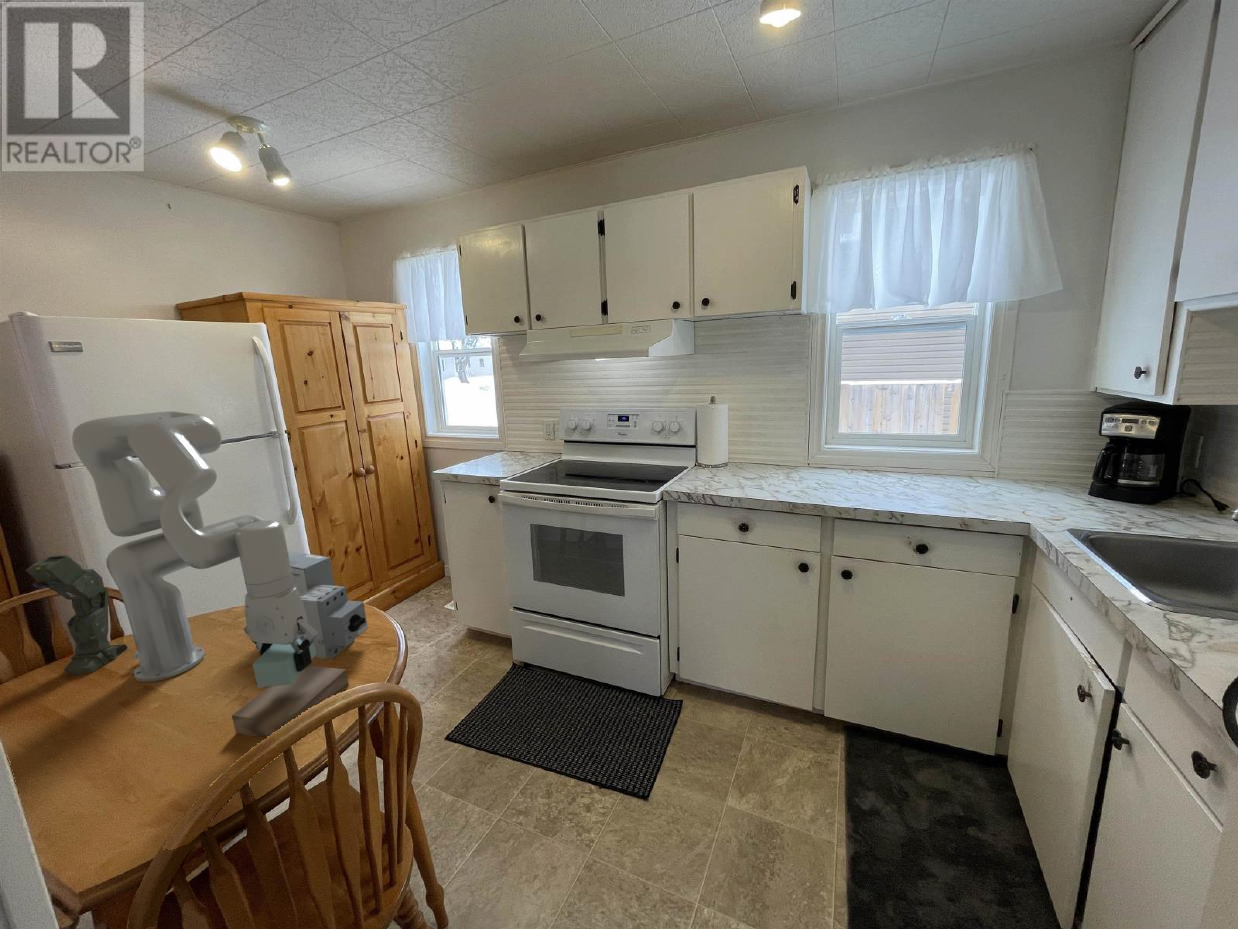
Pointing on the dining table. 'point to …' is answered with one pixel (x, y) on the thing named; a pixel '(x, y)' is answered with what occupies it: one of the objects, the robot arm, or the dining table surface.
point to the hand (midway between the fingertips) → (287, 665)
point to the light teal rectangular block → (278, 665)
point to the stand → (288, 700)
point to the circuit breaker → (333, 618)
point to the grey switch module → (310, 571)
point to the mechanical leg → (80, 610)
